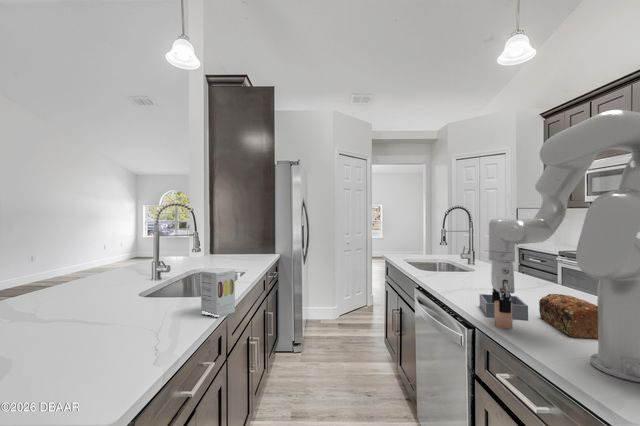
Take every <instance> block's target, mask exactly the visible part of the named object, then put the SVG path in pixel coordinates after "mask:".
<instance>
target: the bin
mask: <svg viewBox="0 0 640 426" xmlns="http://www.w3.org/2000/svg"><path fill="white" fill-rule="evenodd" d="M478 295H479V308H480V309H481V311H482V313H483V314H484V316H485V317H486V318H490V319H491V318H492V319H493V318H494V319H495V303H493V302H492V294H486V293H483V294H481V293H479V294H478ZM511 303H512V320H518V321H519V320H521V321H529V305H528V304H527V303H526V302H524V301H523V300H522V299H520V298H519V296H517V295H511Z"/></svg>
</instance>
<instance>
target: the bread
mask: <svg viewBox="0 0 640 426" xmlns="http://www.w3.org/2000/svg"><path fill="white" fill-rule="evenodd" d="M538 301H539V302H538V305H539V308H538V309H539V310H538V311H539V316H540V319H541V320H543V321H544V322H545V323H547V324H549V325H551V327H554V328H555V329H557V330H558V331H560V332H561V333H563V334H564V335H567V336H569V337H572V338H576V339H592V340H593V339H594V340H598V305H596V304H594V303H591V302H588V301H587V300H584V299H582V298H581V299H580V298H578V297H575V296H572V295H569V294H568V295H567V294H562V293H561V294H557V293H548V294H547V295H545V296H542V297H541V298H540V299H539V300H538Z"/></svg>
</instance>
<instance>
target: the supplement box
mask: <svg viewBox="0 0 640 426" xmlns="http://www.w3.org/2000/svg"><path fill="white" fill-rule="evenodd" d="M235 271H236V270H235V269H233V268H223V267H218V268H214V269H213V268H212V269H208V270H202V271H200V301H201V302H200V303H201V304H200V305H201V307H200V309H201V310H202V311H205V312H208V313H211V314H214V315H219V316H220V317H219V318H221V317H224V316H226V315H231V314H232V313H235V312H236V287H235V286H236V281H235V280H236V277H235V276H236V274H235V273H236V272H235Z"/></svg>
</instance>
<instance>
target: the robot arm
mask: <svg viewBox="0 0 640 426" xmlns="http://www.w3.org/2000/svg"><path fill="white" fill-rule="evenodd" d="M608 150H615V151H616V150H617V151H624V152H625V151H627V152H629V153H631V158H629V160H628V162H627V163H626V165H625V167H624V169H623V171H622V174H621V179H620V183H619V185H618V188H617V190H612V191H607V192H603V194H600V195H599V196H597V197H596V198H595V199H594V200H593V201H592V202H591V203H590V205H589V207H588V209H587V211H586V213H585V217H584V220H583V224H582V227H581V231H580V235H579V239H578V241H577V242H578V243H577V246H576V252H575V260H576V263H577V266H578V267H579V270H580V271H582V273H584V274H585V275H586V276H587V277H590V278H591V279H595V280H598V284H597V305H596V306H598V339H597V348H598V349H597V350H598V351H597V353H594V354H592V355H590V357H589V358H590V359H589V361H590V364H591V365H592V366H593V367H595V368H596V369H598V370H599V371H601V372H603V373H605V374H608V375H611V376H613V377H616V378H620V379H623V380H627V381H631V382H637V383H640V238H639V237H637V236H638V233H640V112H637V111H631V110H626V109H610V110H607V111H604V112H600V113H598V114H596V115H594V116H592V117H589V118H587V119H585V120H582V121H581V122H578V123H576V124H575V125H571V126H570V127H568V128H566V129H564V130H560V131H559V132H557V133H555V134H554V135H552V136H550V137H549V138H547V139H546V140H545V142H543V144H542V146H541V147H540V149H539V158H540V161H541V162H542V164H544V165H545V166H546V167H545V169H544V171H543V172H542V173H541V175H540V177H539V178H538V180H537V181H536V182H535V185H534V186H535V187H534V188H535V190H536V191H537V192H538V193H539V194H540V195H541V197H542V202H541V206H540V208H539V209H538V211H537V213H536V214H535V216H534V217H533V218H522V219H521V218H520V219H512V218H511V219H510V218H493V219H490V221H489V222H488V223H489V224H488V261H489V262H490V261H491V271H490V272H491V275H490V276H491V280H490V281H491V286H492V291H491V292H492V293H491V295H492V302H493V303H494V301H496V300H499V312H501V313H511V296H512V294H514V293H515V291H516V290H515V273H514V272H515V270H514V263H515V262H516V245H527V244H536V243H537V244H540V243H543V242H545V241H548V240H549V239H551V237H552V236H553V235H554V234H555V233H556V232H557V230H558V228H559V227H560V226H561V225H562V223H563V222H564V220H565V217H566V215H567V209H568V203H569V202H568V200H569V197H570V196H571V194H572V192H573V191H574V190H575V189H576V187H577V186H578V184H579V183H580V181H581V180H582V179H583V177H584V176H585V175H586V173H587V171H588V170H589V169H590V167H591V166H592V164H593V163H594V162H595V160H596V158H597V156H598V154H600V153H601V152H604V151H608Z"/></svg>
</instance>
